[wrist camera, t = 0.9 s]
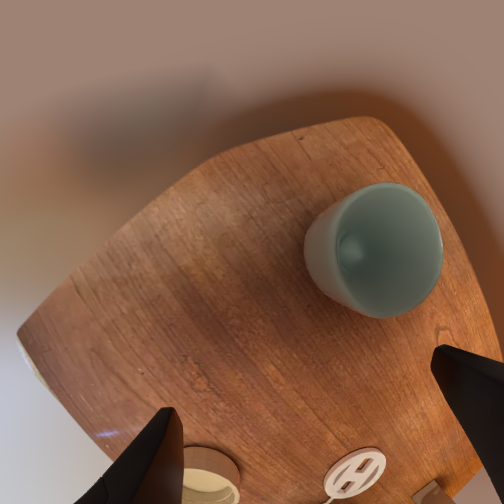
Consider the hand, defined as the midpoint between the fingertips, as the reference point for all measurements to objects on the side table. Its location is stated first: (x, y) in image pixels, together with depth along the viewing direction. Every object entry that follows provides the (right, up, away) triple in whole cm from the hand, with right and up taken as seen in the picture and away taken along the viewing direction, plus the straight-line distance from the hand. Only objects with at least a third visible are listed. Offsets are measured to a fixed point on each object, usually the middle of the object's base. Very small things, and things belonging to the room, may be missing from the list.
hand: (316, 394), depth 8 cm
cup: (+5, +4, +17) cm, 18 cm away
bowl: (-7, -19, +16) cm, 26 cm away
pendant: (+9, -22, +16) cm, 29 cm away
